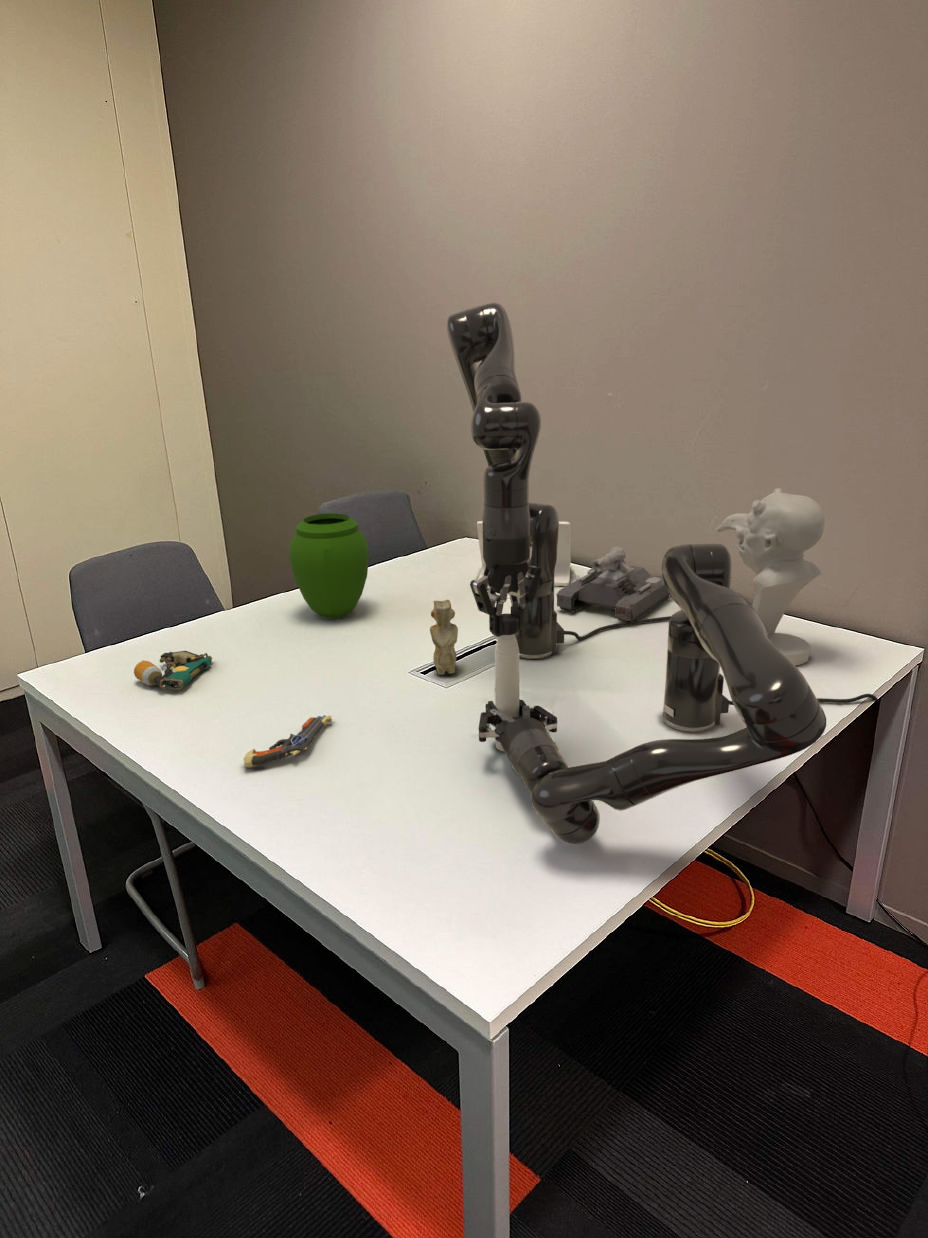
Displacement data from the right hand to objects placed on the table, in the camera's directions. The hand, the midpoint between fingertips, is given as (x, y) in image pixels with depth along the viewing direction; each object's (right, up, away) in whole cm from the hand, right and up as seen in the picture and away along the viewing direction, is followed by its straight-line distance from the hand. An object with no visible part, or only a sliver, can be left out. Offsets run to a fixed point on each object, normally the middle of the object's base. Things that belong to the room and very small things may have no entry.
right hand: (503, 704), depth 149 cm
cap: (0, +15, -8) cm, 17 cm away
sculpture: (-11, +4, +31) cm, 33 cm away
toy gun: (-38, -8, +2) cm, 39 cm away
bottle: (+1, -7, 0) cm, 7 cm away
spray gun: (-68, +3, +32) cm, 75 cm away
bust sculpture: (+57, +8, +35) cm, 67 cm away
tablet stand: (+10, +27, +90) cm, 95 cm away
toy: (+31, +18, +65) cm, 75 cm away
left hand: (0, +13, -8) cm, 15 cm away
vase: (-39, +16, +65) cm, 77 cm away
